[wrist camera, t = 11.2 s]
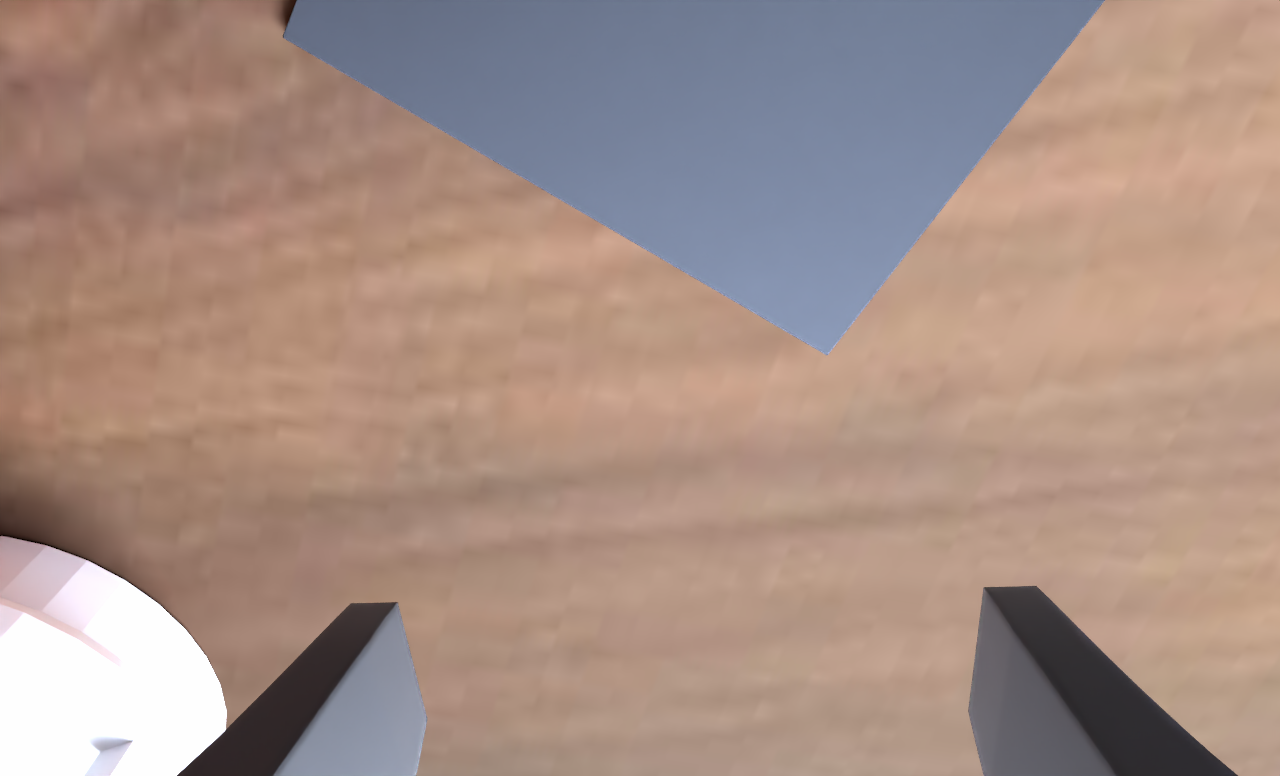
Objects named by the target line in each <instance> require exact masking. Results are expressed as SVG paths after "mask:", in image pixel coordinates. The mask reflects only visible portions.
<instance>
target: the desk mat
mask: <svg viewBox="0 0 1280 776" xmlns="http://www.w3.org/2000/svg"><path fill="white" fill-rule="evenodd" d="M1104 1H1105V0H296V3H295V5H294V8H293V11H292V13H291V16H290V19H289V21H288V24H287V26H286V29H285V32H284V34H283V38H284V39H286V40H288V41H290V42H291V43H293V44H295V45H296V46H298V47H300V48H302V49H303V50H305V51H307V52H308V53H310V54H312V55H314V56H315V57H317V58H319V59H320V60H322V61H324V62H326V63H327V64H329V65H331V66H332V67H334V68H336V69H337V70H339V71H341V72H343V73H344V74H346V75H348V76H349V77H351V78H353V79H355V80H356V81H358V82H360V83H361V84H363V85H365V86H367V87H368V88H370V89H372V90H373V91H375V92H377V93H379V94H380V95H382V96H384V97H385V98H387V99H389V100H391V101H392V102H394V103H396V104H397V105H399V106H401V107H403V108H404V109H406V110H408V111H409V112H411V113H413V114H415V115H416V116H418V117H420V118H421V119H423V120H425V121H427V122H428V123H430V124H432V125H433V126H435V127H437V128H438V129H440V130H442V131H444V132H445V133H447V134H449V135H450V136H452V137H454V138H456V139H457V140H459V141H461V142H462V143H464V144H466V145H468V146H469V147H471V148H473V149H474V150H476V151H478V152H480V153H481V154H483V155H485V156H486V157H488V158H490V159H492V160H493V161H495V162H497V163H498V164H500V165H502V166H504V167H505V168H507V169H509V170H510V171H512V172H514V173H516V174H517V175H519V176H521V177H522V178H524V179H526V180H528V181H529V182H531V183H533V184H534V185H536V186H538V187H540V188H541V189H543V190H545V191H546V192H548V193H550V194H551V195H553V196H555V197H557V198H558V199H560V200H562V201H563V202H565V203H567V204H569V205H570V206H572V207H574V208H575V209H577V210H579V211H581V212H582V213H584V214H586V215H587V216H589V217H591V218H593V219H594V220H596V221H598V222H599V223H601V224H603V225H605V226H606V227H608V228H610V229H611V230H613V231H615V232H617V233H618V234H620V235H622V236H623V237H625V238H627V239H629V240H630V241H632V242H634V243H635V244H637V245H639V246H641V247H642V248H644V249H646V250H647V251H649V252H651V253H653V254H654V255H656V256H658V257H659V258H661V259H663V260H664V261H666V262H668V263H670V264H671V265H673V266H675V267H676V268H678V269H680V270H682V271H683V272H685V273H687V274H688V275H690V276H692V277H694V278H695V279H697V280H699V281H700V282H702V283H704V284H706V285H707V286H709V287H711V288H712V289H714V290H716V291H718V292H719V293H721V294H723V295H724V296H726V297H728V298H730V299H731V300H733V301H735V302H736V303H738V304H740V305H742V306H743V307H745V308H747V309H748V310H750V311H752V312H754V313H755V314H757V315H759V316H760V317H762V318H764V319H766V320H767V321H769V322H771V323H772V324H774V325H776V326H777V327H779V328H781V329H783V330H784V331H786V332H788V333H789V334H791V335H793V336H795V337H796V338H798V339H800V340H801V341H803V342H805V343H807V344H808V345H810V346H812V347H813V348H815V349H817V350H819V351H820V352H822V353H824V354H825V355H828V354H829V353H830V351H831V350H832V349H833V348H834V346H835V345H836V344H837V343H838V341H839V340H840V339H841V337H842V336H843V335H844V334H845V332H846V331H847V330H848V328H849V327H850V326H851V325H852V323H853V322H854V321H855V319H856V318H857V317H858V316H859V314H860V313H861V312H862V311H863V309H864V308H865V307H866V305H867V304H868V303H869V302H870V300H871V299H872V298H873V296H874V295H875V294H876V293H877V291H878V290H879V289H880V287H881V286H882V285H883V284H884V282H885V281H886V280H887V279H888V277H889V276H890V275H891V273H892V272H893V271H894V270H895V268H896V267H897V266H898V264H899V263H900V262H901V261H902V259H903V258H904V257H905V255H906V254H907V253H908V252H909V250H910V249H911V248H912V247H913V245H914V244H915V243H916V241H917V240H918V239H919V238H920V236H921V235H922V234H923V232H924V231H925V230H926V229H927V227H928V226H929V225H930V223H931V222H932V221H933V220H934V218H935V217H936V216H937V215H938V213H939V212H940V211H941V209H942V208H943V207H944V206H945V204H946V203H947V202H948V200H949V199H950V198H951V197H952V195H953V194H954V193H955V191H956V190H957V189H958V188H959V186H960V185H961V184H962V183H963V181H964V180H965V179H966V177H967V176H968V175H969V174H970V172H971V171H972V170H973V168H974V167H975V166H976V165H977V163H978V162H979V161H980V159H981V158H982V157H983V156H984V154H985V153H986V152H987V151H988V149H989V148H990V147H991V145H992V144H993V143H994V142H995V140H996V139H997V138H998V136H999V135H1000V134H1001V133H1002V131H1003V130H1004V129H1005V127H1006V126H1007V125H1008V124H1009V122H1010V121H1011V120H1012V119H1013V117H1014V116H1015V115H1016V113H1017V112H1018V111H1019V110H1020V108H1021V107H1022V106H1023V104H1024V103H1025V102H1026V101H1027V99H1028V98H1029V97H1030V95H1031V94H1032V93H1033V92H1034V90H1035V89H1036V88H1037V87H1038V85H1039V84H1040V83H1041V81H1042V80H1043V79H1044V78H1045V76H1046V75H1047V74H1048V72H1049V71H1050V70H1051V69H1052V67H1053V66H1054V65H1055V63H1056V62H1057V61H1058V60H1059V58H1060V57H1061V56H1062V55H1063V53H1064V52H1065V51H1066V49H1067V48H1068V47H1069V46H1070V44H1071V43H1072V42H1073V40H1074V39H1075V38H1076V37H1077V35H1078V34H1079V33H1080V31H1081V30H1082V29H1083V28H1084V26H1085V25H1086V24H1087V23H1088V21H1089V20H1090V19H1091V17H1092V16H1093V15H1094V14H1095V12H1096V11H1097V10H1098V8H1099V7H1100V6H1101V5H1102V3H1103V2H1104Z"/></svg>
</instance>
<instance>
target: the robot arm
mask: <svg viewBox="0 0 1280 776" xmlns="http://www.w3.org/2000/svg"><path fill="white" fill-rule="evenodd" d="M968 712H969V716H970V720H971V725H972V729H973V733H974V737H975V742H976V746H977V750H978V754H979V758H980V762H981V766H982V770H983V774H984V776H1238V775H1237V774H1235V773H1234V772H1233V771H1232V770H1231V769H1229V768H1228V767H1227V766H1226V765H1225V764H1223V763H1222V762H1221V761H1220V760H1219V759H1217V758H1216V757H1215V756H1214V755H1213V754H1212V753H1210V752H1209V751H1208V750H1207V749H1206V748H1205V747H1204V746H1203V745H1201V744H1200V743H1199V742H1198V741H1197V740H1196V739H1195V738H1194V737H1192V736H1191V735H1190V734H1189V733H1188V732H1187V731H1186V730H1185V729H1184V728H1182V727H1181V726H1180V725H1179V724H1178V723H1177V722H1176V721H1175V720H1174V719H1173V718H1172V717H1171V716H1170V715H1168V714H1167V713H1166V712H1165V711H1164V710H1163V709H1162V708H1161V707H1160V706H1159V705H1158V704H1157V703H1155V702H1154V701H1153V700H1152V699H1151V698H1150V697H1149V696H1148V695H1147V694H1146V693H1145V692H1144V691H1142V690H1141V689H1140V688H1139V687H1138V686H1137V685H1136V684H1135V683H1134V682H1133V681H1132V680H1131V679H1130V678H1129V677H1128V676H1127V675H1126V674H1125V673H1124V672H1123V671H1122V670H1121V669H1120V668H1119V667H1118V666H1117V665H1116V664H1115V663H1113V662H1112V661H1111V660H1110V659H1109V658H1108V657H1107V656H1106V655H1105V654H1104V653H1103V652H1102V651H1101V650H1100V649H1099V648H1098V647H1097V646H1096V645H1095V644H1094V643H1093V642H1092V641H1091V640H1090V639H1089V638H1088V637H1087V636H1086V635H1085V634H1084V633H1083V632H1082V631H1081V630H1080V629H1079V628H1078V627H1077V626H1076V625H1075V624H1074V623H1073V622H1072V621H1071V620H1070V619H1069V618H1068V617H1067V616H1066V615H1065V614H1064V613H1063V612H1062V611H1061V610H1060V609H1059V608H1058V607H1057V606H1056V605H1055V604H1054V603H1053V602H1052V601H1051V600H1050V599H1049V598H1048V597H1047V596H1046V595H1045V594H1044V593H1043V592H1042V591H1041V590H1040V589H1039V588H1038V587H1037V586H1022V587H984V589H983V597H982V605H981V613H980V621H979V629H978V637H977V645H976V654H975V662H974V670H973V678H972V686H971V694H970V702H969V710H968ZM426 723H427V716H426V712H425V708H424V704H423V700H422V696H421V693H420V689H419V685H418V681H417V677H416V673H415V669H414V665H413V661H412V657H411V653H410V649H409V645H408V641H407V638H406V634H405V630H404V626H403V622H402V618H401V614H400V610H399V606H398V602H392V603H352V604H350V605H349V606H348V607H347V608H346V609H345V610H344V611H343V612H342V613H341V614H340V615H339V616H338V617H337V618H336V619H335V620H334V621H333V622H332V623H331V624H330V625H329V626H328V627H327V628H326V629H325V630H324V631H323V632H322V633H321V634H320V635H319V636H318V637H317V638H316V639H315V640H314V641H313V642H312V643H311V644H310V645H309V646H308V647H307V648H306V650H305V651H304V652H303V653H302V654H301V655H300V656H299V657H298V658H297V659H296V660H295V661H294V662H293V663H292V664H291V665H290V666H289V667H288V668H287V669H286V670H285V671H284V672H283V673H282V674H281V675H280V676H279V677H278V678H277V679H276V680H275V681H274V682H273V683H272V684H271V685H270V686H269V687H268V688H267V689H266V690H265V691H264V692H263V693H262V694H261V695H260V696H259V697H258V698H257V699H256V700H255V701H254V702H253V703H252V704H251V705H250V706H249V707H248V708H247V709H246V710H245V711H244V712H243V713H242V714H241V715H240V716H239V717H238V718H237V719H236V720H235V721H234V722H233V723H232V724H231V725H230V726H229V727H228V728H227V729H226V730H225V731H224V732H223V733H222V734H221V735H220V736H219V737H218V738H216V739H215V740H214V741H213V742H212V743H211V744H210V745H209V746H208V747H207V748H206V749H204V750H203V751H202V752H201V753H200V754H199V755H198V756H197V757H196V758H195V759H194V760H193V761H191V762H190V763H189V764H188V765H187V766H186V767H185V768H184V769H183V770H182V771H181V772H179V773H178V774H177V775H176V776H416V773H417V768H418V764H419V759H420V754H421V749H422V744H423V739H424V734H425V729H426Z"/></svg>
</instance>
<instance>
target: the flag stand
mask: <svg viewBox="0 0 1280 776" xmlns="http://www.w3.org/2000/svg"><path fill="white" fill-rule="evenodd" d="M225 727H226V708H225V704H224V700H223V695H222V691H221V687H220V684H219V682H218V680H217V678H216V675H215V673H214V671H213V669H212V667H211V665H210V663H209V661H208V659H207V657H206V656H205V655H204V653H203V652H202V651H201V649H200V648H199V647H198V645H197V644H196V643H195V641H194V640H193V639H192V637H191V636H190V635H189V633H188V632H187V631H186V630H185V629H184V628H183V627H182V626H181V625H180V624H179V623H178V622H177V621H176V620H175V619H174V618H173V617H172V616H171V615H170V614H169V613H168V612H167V611H166V610H164V609H163V608H162V607H161V606H160V605H159V604H158V603H157V602H155V601H154V600H152V599H151V598H150V597H148V596H147V595H145V594H144V593H143V592H141V591H140V590H138V589H137V588H136V587H134V586H133V585H131V584H130V583H128V582H127V581H126V580H124V579H122V578H120V577H118V576H116V575H114V574H112V573H111V572H109V571H107V570H105V569H103V568H101V567H99V566H97V565H95V564H93V563H91V562H90V561H88V560H85V559H82V558H80V557H77V556H74V555H71V554H69V553H66V552H63V551H60V550H58V549H55V548H52V547H50V546H46V545H42V544H37V543H33V542H28V541H24V540H19V539H15V538H10V537H4V536H0V776H176V775H177V774H178V773H179V772H181V771H182V770H183V769H184V768H185V767H186V766H187V765H188V764H189V763H190V762H191V761H193V760H194V759H195V758H196V757H197V756H198V755H199V754H200V753H201V752H202V751H203V750H204V749H206V748H207V747H208V746H209V745H210V744H211V743H212V742H213V741H214V740H215V739H216V738H218V737H219V736H220V735H221V734H222V733H223V732H224V731H225Z"/></svg>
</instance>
